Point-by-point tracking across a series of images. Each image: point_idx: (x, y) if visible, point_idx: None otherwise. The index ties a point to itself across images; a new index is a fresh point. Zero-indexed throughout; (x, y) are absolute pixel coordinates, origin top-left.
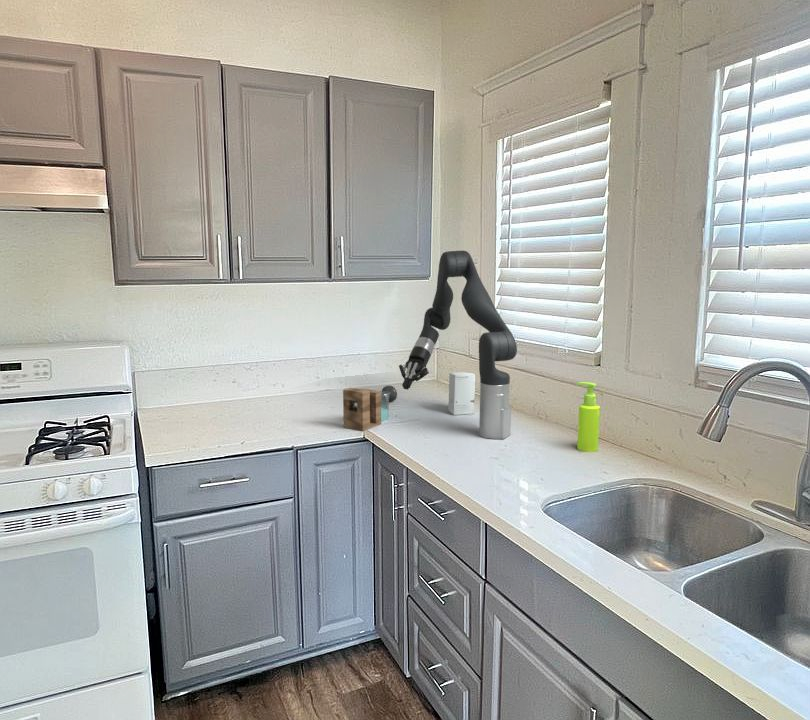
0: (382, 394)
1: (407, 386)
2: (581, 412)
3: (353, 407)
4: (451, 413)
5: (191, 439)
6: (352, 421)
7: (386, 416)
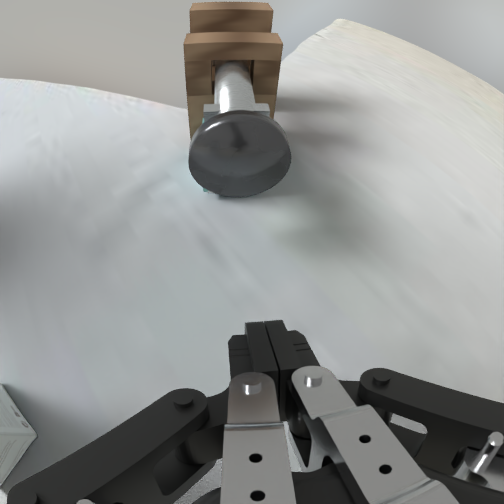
0: (219, 95)
1: (237, 338)
2: None
3: None
4: (14, 404)
5: (373, 38)
6: None
7: None
